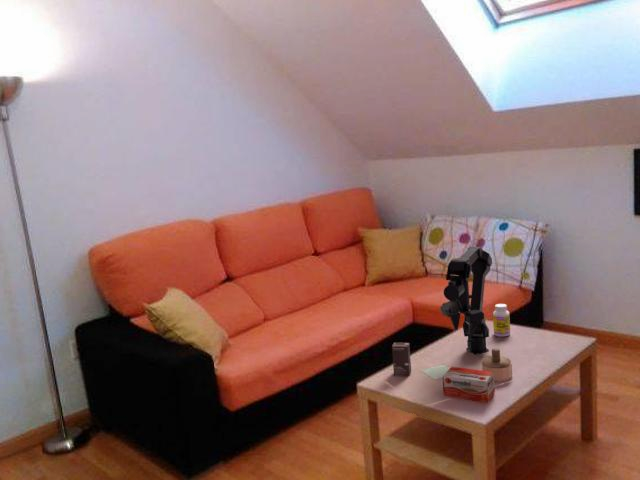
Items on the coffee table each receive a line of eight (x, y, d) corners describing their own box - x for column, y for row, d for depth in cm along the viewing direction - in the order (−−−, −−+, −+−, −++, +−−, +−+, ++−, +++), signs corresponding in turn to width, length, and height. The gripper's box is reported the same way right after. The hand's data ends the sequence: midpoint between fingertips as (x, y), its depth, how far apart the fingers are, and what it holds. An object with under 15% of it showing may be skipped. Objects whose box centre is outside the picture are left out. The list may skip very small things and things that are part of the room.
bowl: (499, 368, 215) (499, 355, 215) (518, 377, 206) (517, 364, 205) (476, 374, 212) (476, 361, 211) (494, 384, 203) (493, 370, 202)
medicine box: (443, 397, 198) (441, 374, 196) (451, 387, 204) (450, 365, 203) (488, 404, 189) (487, 381, 188) (495, 394, 196) (494, 371, 195)
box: (393, 377, 217) (391, 346, 215) (396, 372, 222) (393, 341, 219) (410, 377, 215) (407, 346, 213) (412, 372, 220) (409, 342, 218)
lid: (498, 355, 214) (498, 343, 214) (516, 364, 205) (515, 351, 205) (476, 361, 211) (476, 348, 210) (493, 370, 202) (492, 357, 201)
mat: (443, 365, 223) (443, 364, 223) (458, 374, 214) (458, 373, 214) (420, 371, 220) (420, 370, 220) (435, 380, 211) (435, 379, 211)
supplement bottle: (494, 337, 247) (493, 308, 244) (493, 332, 253) (491, 303, 251) (511, 336, 245) (510, 307, 243) (509, 331, 252) (507, 302, 250)
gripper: (428, 292, 223) (431, 331, 226) (458, 303, 206) (461, 345, 209) (453, 286, 227) (455, 324, 230) (484, 296, 210) (486, 338, 213)
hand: (463, 333), depth 220 cm, fingers open, 9 cm apart
